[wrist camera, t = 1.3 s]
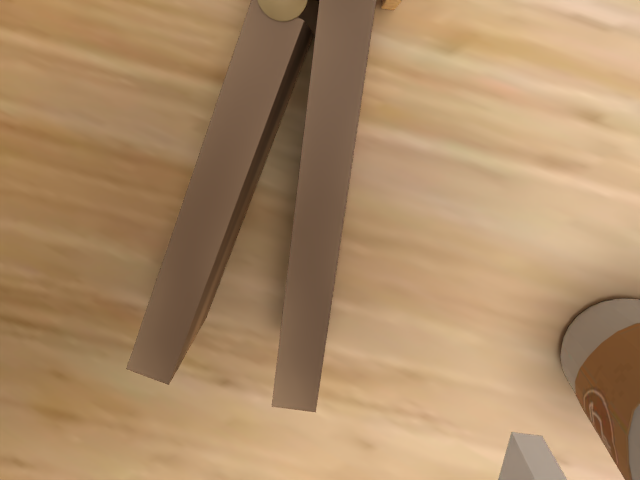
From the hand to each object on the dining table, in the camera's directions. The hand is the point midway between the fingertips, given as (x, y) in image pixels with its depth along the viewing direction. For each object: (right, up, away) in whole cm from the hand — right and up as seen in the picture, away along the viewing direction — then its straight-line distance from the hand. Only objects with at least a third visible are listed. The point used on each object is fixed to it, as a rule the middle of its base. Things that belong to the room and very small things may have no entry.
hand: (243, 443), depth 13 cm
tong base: (+1, +10, +14) cm, 17 cm away
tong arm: (-2, +8, +15) cm, 17 cm away
